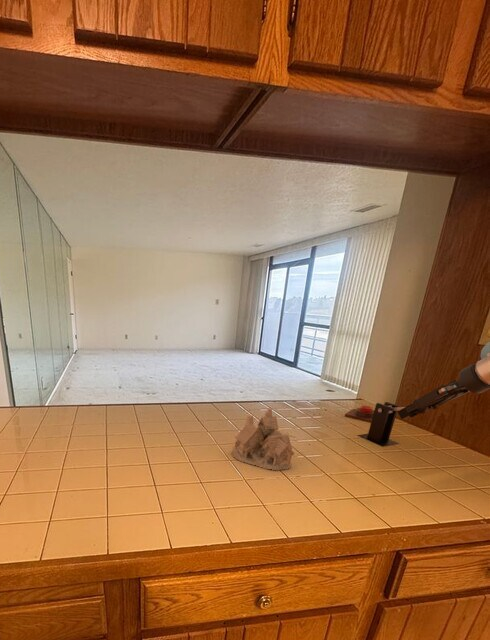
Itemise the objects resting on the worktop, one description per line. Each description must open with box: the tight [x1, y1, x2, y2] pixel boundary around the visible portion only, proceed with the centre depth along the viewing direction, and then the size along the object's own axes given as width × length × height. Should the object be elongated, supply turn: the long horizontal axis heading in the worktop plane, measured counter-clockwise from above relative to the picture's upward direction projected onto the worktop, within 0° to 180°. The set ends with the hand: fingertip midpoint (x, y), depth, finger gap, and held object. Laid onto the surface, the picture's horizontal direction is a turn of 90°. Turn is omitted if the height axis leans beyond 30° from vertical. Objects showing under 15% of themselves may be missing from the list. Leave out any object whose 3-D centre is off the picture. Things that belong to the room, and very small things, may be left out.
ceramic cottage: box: [230, 407, 295, 471], centre depth 103 cm, size 16×16×15 cm
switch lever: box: [389, 406, 429, 415], centre depth 110 cm, size 14×4×4 cm, turn 22°
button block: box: [344, 407, 375, 424], centre depth 140 cm, size 12×10×4 cm
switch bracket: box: [357, 401, 400, 448], centre depth 117 cm, size 10×8×14 cm
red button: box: [360, 405, 373, 413], centre depth 139 cm, size 4×4×2 cm
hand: (404, 414), depth 110 cm, fingers closed on switch lever, 4 cm apart
